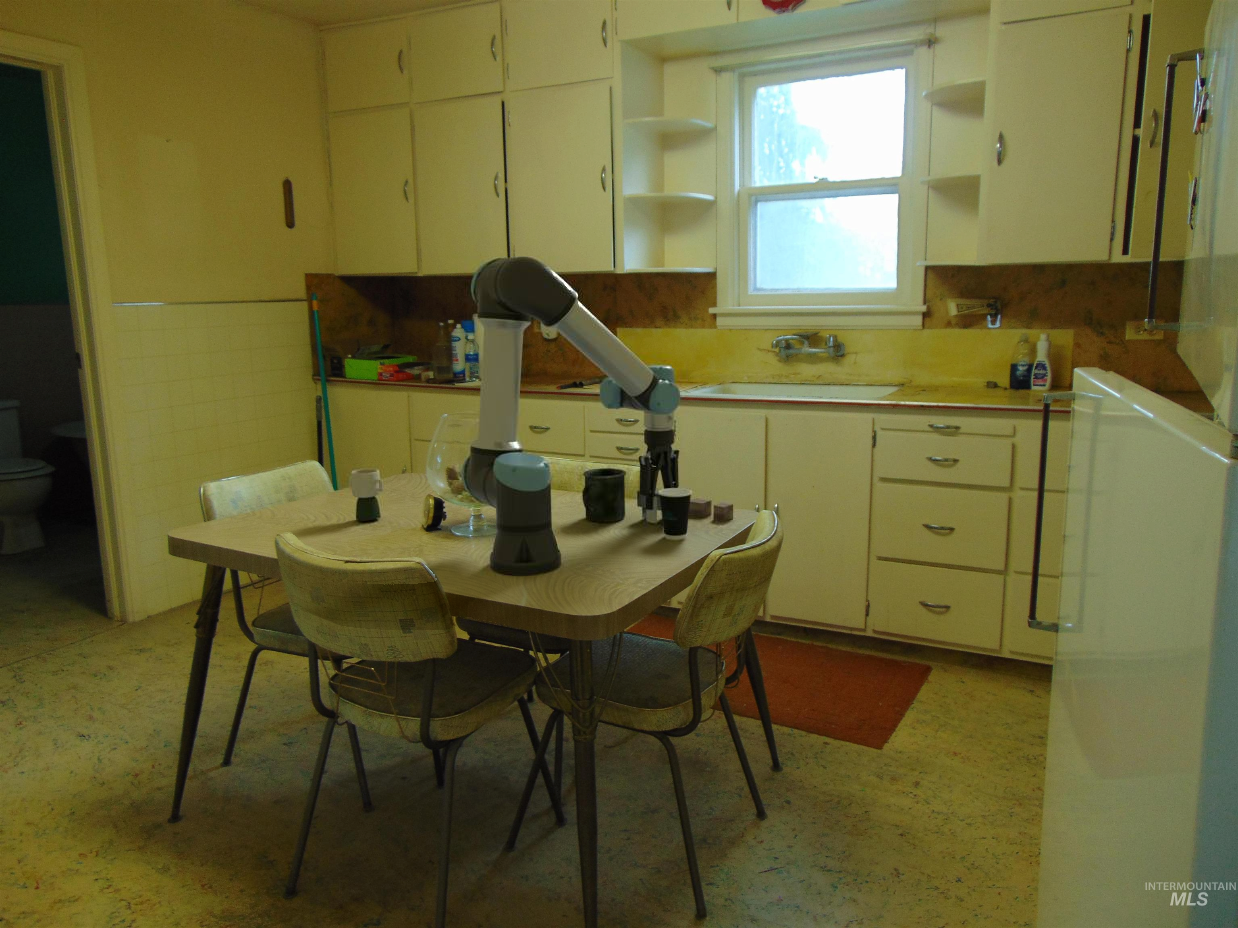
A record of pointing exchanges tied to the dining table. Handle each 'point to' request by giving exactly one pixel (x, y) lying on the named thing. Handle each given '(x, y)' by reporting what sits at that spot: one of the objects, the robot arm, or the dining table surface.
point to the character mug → (366, 493)
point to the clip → (642, 502)
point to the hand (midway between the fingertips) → (659, 519)
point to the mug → (604, 494)
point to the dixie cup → (675, 512)
